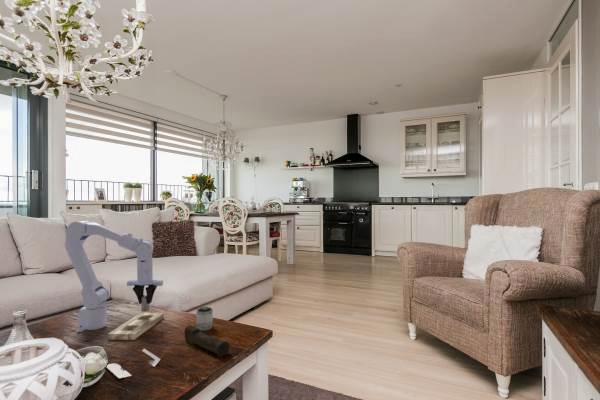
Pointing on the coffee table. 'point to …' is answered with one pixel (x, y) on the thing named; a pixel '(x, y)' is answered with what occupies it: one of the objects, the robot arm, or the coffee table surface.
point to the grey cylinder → (144, 303)
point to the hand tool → (206, 341)
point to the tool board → (135, 326)
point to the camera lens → (204, 318)
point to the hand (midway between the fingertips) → (145, 303)
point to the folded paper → (121, 371)
